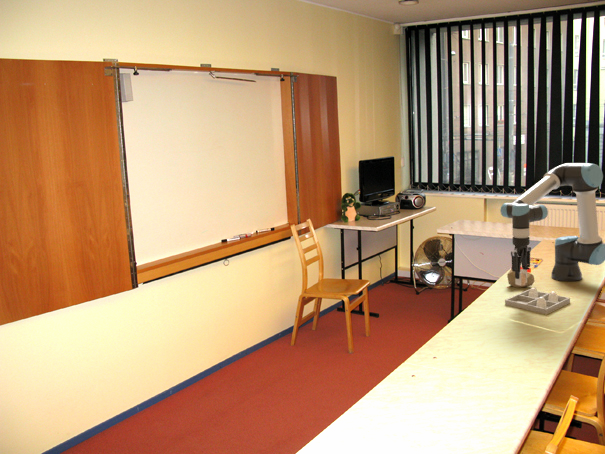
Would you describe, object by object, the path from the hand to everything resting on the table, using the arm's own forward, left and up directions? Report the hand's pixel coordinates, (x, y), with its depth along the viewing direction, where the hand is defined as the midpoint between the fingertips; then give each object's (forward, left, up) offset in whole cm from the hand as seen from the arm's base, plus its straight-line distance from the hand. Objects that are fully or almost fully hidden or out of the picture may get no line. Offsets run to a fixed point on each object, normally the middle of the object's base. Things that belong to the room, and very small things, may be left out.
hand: (521, 283), depth 253 cm
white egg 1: (-10, 0, -10) cm, 15 cm away
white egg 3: (-10, +10, -10) cm, 18 cm away
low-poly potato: (-24, -15, -11) cm, 31 cm away
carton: (-5, +5, -11) cm, 13 cm away
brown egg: (0, 0, 0) cm, 0 cm away
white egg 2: (0, +10, -10) cm, 15 cm away
